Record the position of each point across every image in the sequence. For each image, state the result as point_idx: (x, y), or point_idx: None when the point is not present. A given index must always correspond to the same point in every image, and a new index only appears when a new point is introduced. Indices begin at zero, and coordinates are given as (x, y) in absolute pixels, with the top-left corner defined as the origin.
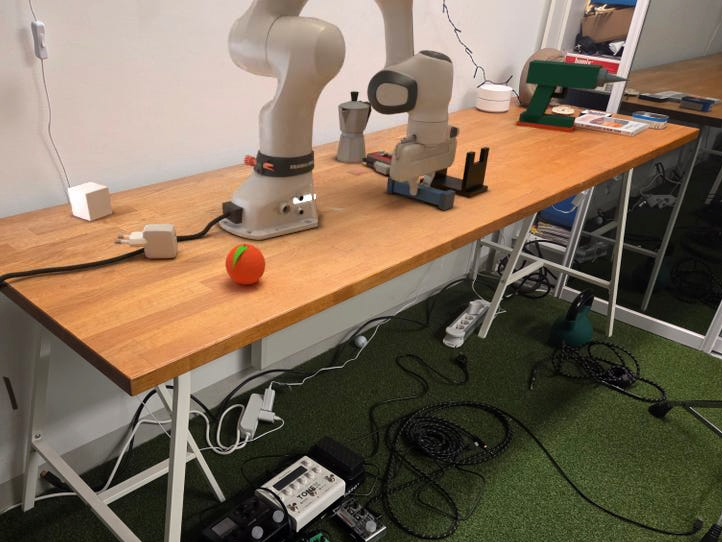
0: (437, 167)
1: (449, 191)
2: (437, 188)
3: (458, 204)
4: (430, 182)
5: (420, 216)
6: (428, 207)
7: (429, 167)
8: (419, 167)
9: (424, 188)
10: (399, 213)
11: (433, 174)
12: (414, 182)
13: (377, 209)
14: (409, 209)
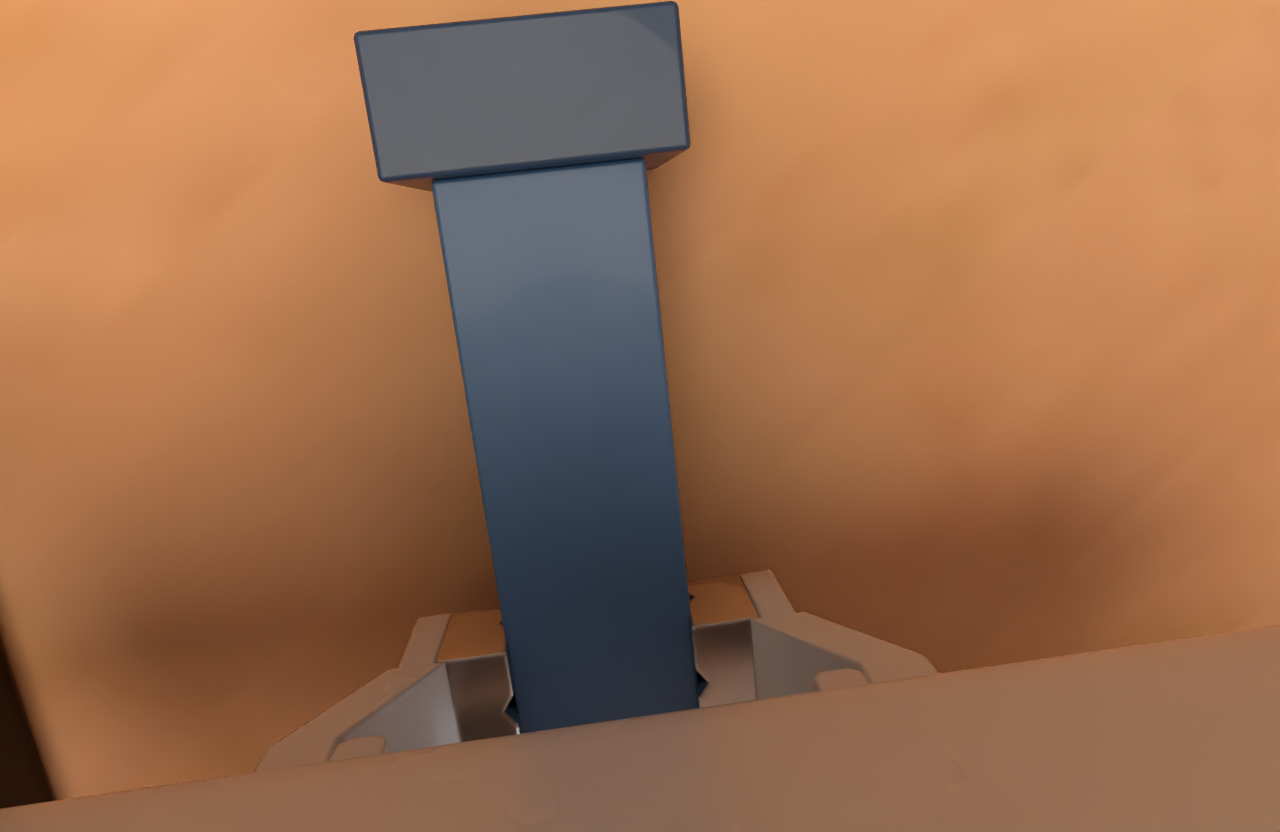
0: (198, 825)
1: (468, 104)
2: (41, 771)
3: (243, 131)
4: (399, 676)
5: (1066, 114)
6: (711, 304)
7: (578, 816)
8: (1099, 807)
9: (630, 573)
10: (1169, 361)
11: (304, 763)
12: (911, 660)
13: (1241, 606)
14: (965, 394)
